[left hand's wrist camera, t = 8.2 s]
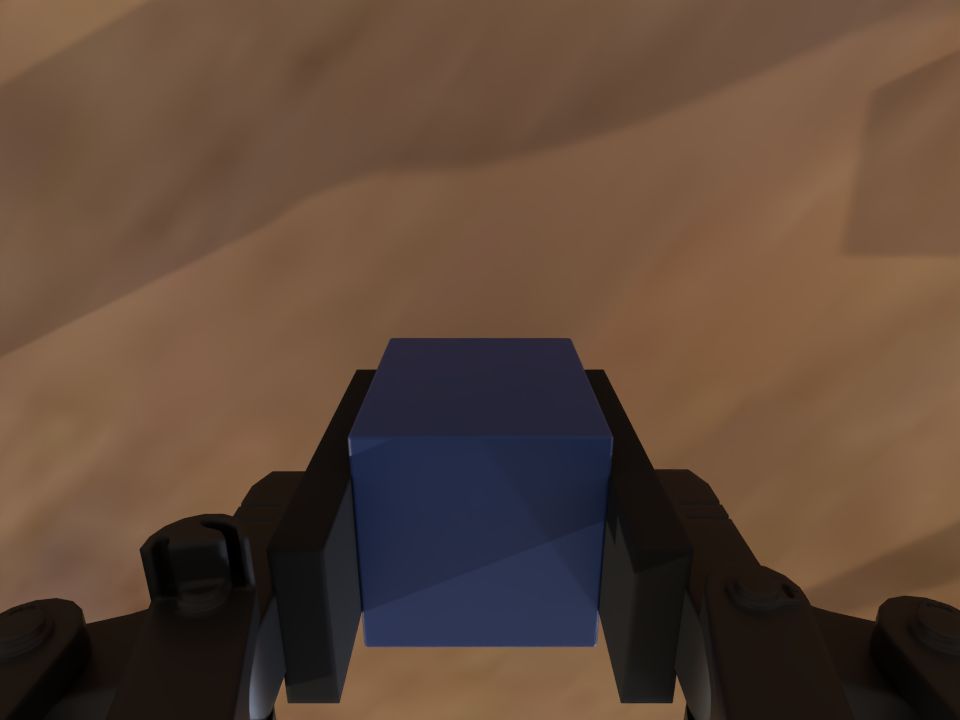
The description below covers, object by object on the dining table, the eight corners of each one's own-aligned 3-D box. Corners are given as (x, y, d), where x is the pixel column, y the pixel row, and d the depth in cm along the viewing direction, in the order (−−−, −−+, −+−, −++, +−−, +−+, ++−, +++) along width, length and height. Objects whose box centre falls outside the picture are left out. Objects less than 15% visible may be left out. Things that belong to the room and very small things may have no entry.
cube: (389, 337, 14) (347, 435, 10) (571, 337, 14) (614, 435, 10) (398, 496, 16) (363, 648, 11) (563, 496, 16) (597, 648, 11)
